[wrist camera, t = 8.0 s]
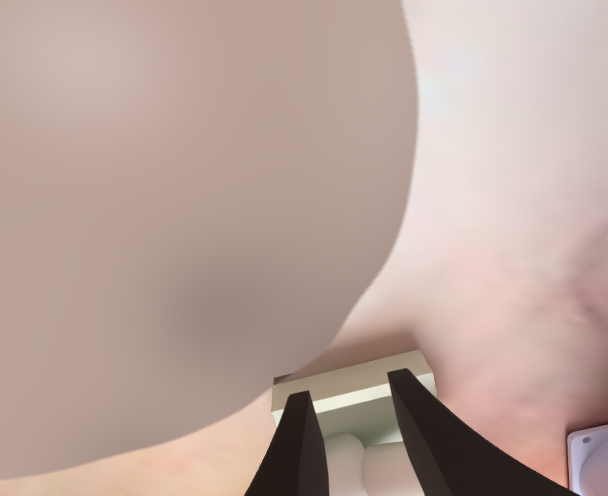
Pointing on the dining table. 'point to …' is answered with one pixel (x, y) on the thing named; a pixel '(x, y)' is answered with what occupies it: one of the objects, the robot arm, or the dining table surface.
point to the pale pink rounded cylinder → (345, 465)
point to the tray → (356, 397)
